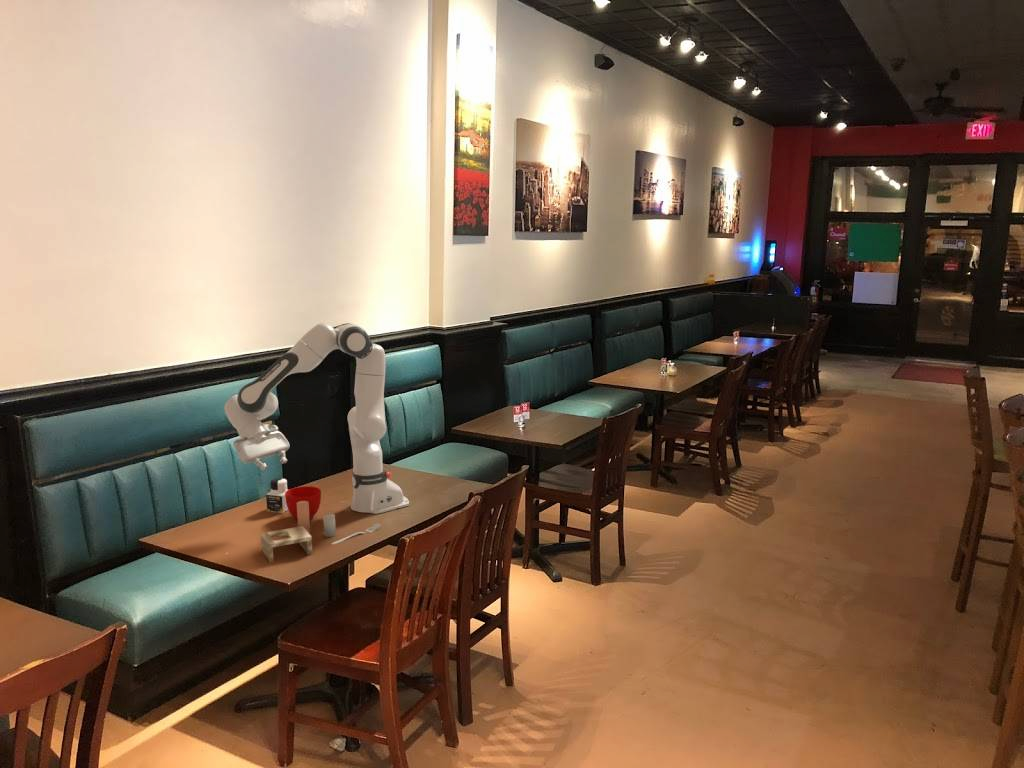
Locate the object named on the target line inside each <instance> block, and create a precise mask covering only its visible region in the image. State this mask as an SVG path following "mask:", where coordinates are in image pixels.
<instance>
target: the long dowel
mask: <svg viewBox="0 0 1024 768" xmlns="http://www.w3.org/2000/svg"><path fill="white" fill-rule="evenodd" d="M297 517H298V520H297V527H300V526H303V527H304V528H305V529H306V530H307V532H308V533H309V534H310V535H311V524H310V519H309V502H308V501H300V502H297Z"/></svg>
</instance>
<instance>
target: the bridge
mask: <svg viewBox="0 0 1024 768" xmlns="http://www.w3.org/2000/svg"><path fill="white" fill-rule="evenodd" d="M283 536H287V537H286V538H281V539H276V540H273V539H272V538H276V537H277V538H278V537H283ZM260 537H261V550H263V551H262V552H263V554H264V555H265V557H266V558H268V559H267V560H268V562H269V563H273V562H274V549H273V548H276V547H281V546H282V547H283V546H286V545H292V544H297V543H300V544H299V545H300V546H301V548H303V550H304V552H305V553H306V554H307V555H312V554H313V537H312V535H311V533H310V534H309V533H308V532H307V530H306V529H305V528H304V527H303V526H300V527H298V526H296V527H295V526H294V527H290V528H284V529H278V530H274V531H268V532H262V533H260Z"/></svg>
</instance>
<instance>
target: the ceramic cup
mask: <svg viewBox="0 0 1024 768" xmlns="http://www.w3.org/2000/svg"><path fill="white" fill-rule="evenodd" d="M285 498H286V504H287V508H288V510H287V511H288V512H289V513H290V515H291V516H292V517H293V518H294V519H295V520H297V519H298V517H297V502H300V501H308V502H309V520H311V519H313V518H314V516H315V515H316V514H317V512H319V509H320V506H321V501H322V490H321V488H319V487H317V486H311V485H309V486H307V485H305V486H297V487H293V488H290V489H287V491H286V493H285ZM312 517H313V518H312ZM310 518H311V519H310Z"/></svg>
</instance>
